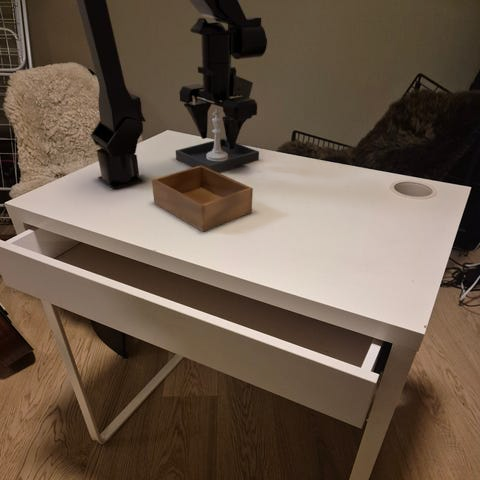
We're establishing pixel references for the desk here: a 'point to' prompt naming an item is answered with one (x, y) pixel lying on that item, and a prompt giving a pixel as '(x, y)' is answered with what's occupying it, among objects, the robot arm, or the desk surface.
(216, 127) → the chess piece
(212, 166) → the tray
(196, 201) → the wooden box
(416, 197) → the desk surface
